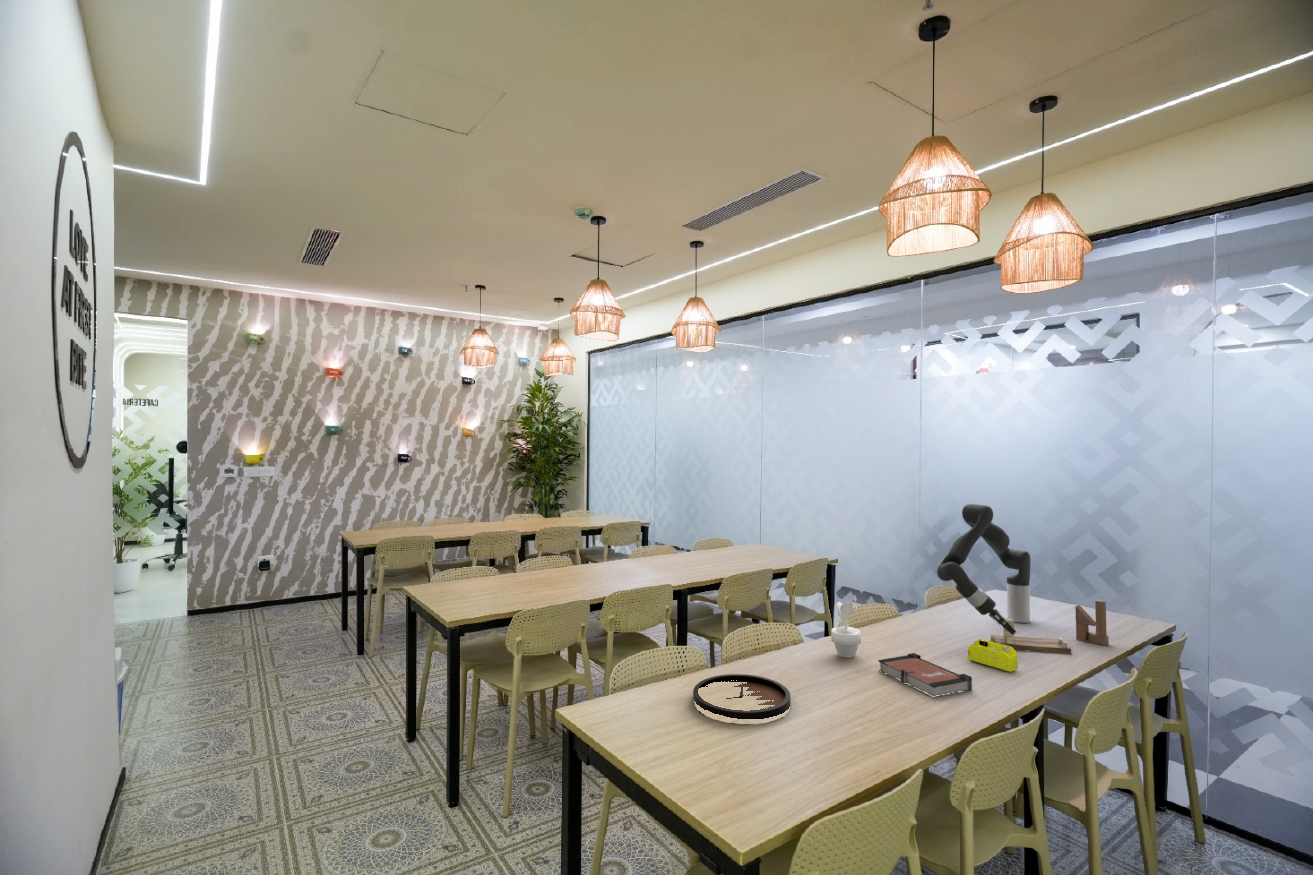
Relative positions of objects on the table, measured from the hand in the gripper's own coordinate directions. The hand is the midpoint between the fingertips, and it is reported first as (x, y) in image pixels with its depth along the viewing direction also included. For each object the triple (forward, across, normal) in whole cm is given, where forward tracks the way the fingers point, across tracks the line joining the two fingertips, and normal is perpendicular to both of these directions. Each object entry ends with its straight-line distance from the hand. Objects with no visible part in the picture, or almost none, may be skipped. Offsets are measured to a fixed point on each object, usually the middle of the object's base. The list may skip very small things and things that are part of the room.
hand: (1011, 630), depth 251 cm
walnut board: (+10, +2, 0) cm, 10 cm away
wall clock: (-65, -83, +76) cm, 130 cm away
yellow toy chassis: (-4, -26, +14) cm, 30 cm away
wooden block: (+29, +15, -19) cm, 38 cm away
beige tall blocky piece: (+3, 0, +4) cm, 5 cm away
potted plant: (-42, -27, +52) cm, 72 cm away
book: (-23, -48, +34) cm, 63 cm away
